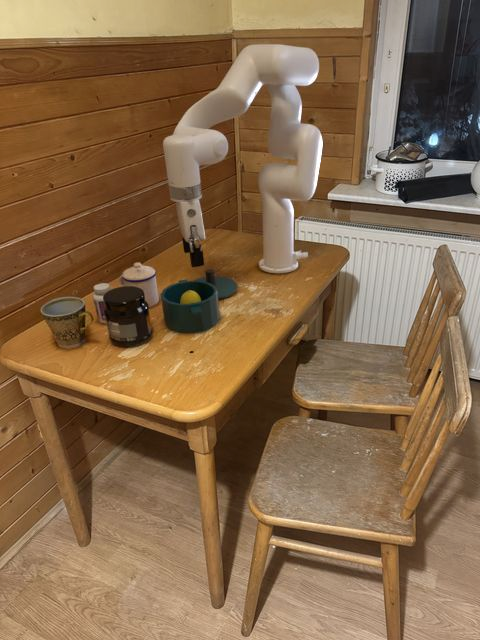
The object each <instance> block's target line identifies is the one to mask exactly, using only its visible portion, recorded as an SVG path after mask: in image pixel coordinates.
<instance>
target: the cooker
mask: <svg viewBox="0 0 480 640" xmlns="http://www.w3.org/2000/svg"><path fill="white" fill-rule="evenodd" d="M188 290H191V291H194V292H196V293H197V294H198V295H199V296H200V298H201V302H196V303H190V304H180V300H181V296H182V295H183V294H184V293H185V292H187V291H188ZM160 301H161V307H162V315H163V321H164V325H165V327H166V328H167V329H168V330H170V331H172V332H175V333H179V334H198V333H201V332H202V333H203V332H205V331H208V330H210V329H212V328H214V327H215V326H216V325H217V324H218V323H219V321H220V305H219V299H218V291H217V289H216V287H215V286H214V285H212V284H210V283H208V282H203V281H193V280H188V279H180V280H178V282H175V283H173V284H170V285H167V287H165V288H163V289H162V291H161V293H160Z"/></svg>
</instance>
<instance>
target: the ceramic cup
mask: <svg viewBox="0 0 480 640" xmlns="http://www.w3.org/2000/svg"><path fill="white" fill-rule="evenodd" d="M40 313H41V315H42V317H43V319H44V322H45V323H46V325H47V327H48V328H49V329H50V331H51V333H52V336H53V337H54V339H55V342H56V343H57V345H58V347H59V348H62V349H67V350H71V349H75V348H80V347H81V346H82V345H84V344H85V343H86V342H87V332H86V331H87V328H88V327H89V326H90V325H92V324H93V322H94V320H95V319H94V316H93V314H92V313H91V312H90V311H86V302H85V300H84V299H83V298H81V297H78V296H63V297H57V298H55V299H52V300H49V301H47V302H46V303H44V304H43V305H42V306H41V308H40ZM86 316H88V317H89V318H90V322H89V323H87V324H86V318H87V317H86Z"/></svg>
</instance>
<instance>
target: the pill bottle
mask: <svg viewBox="0 0 480 640" xmlns="http://www.w3.org/2000/svg"><path fill="white" fill-rule="evenodd" d="M109 290H111V287H110V284H109V283H105V282H101V283H98V284H95V285H94V286H93V292H94V294H93V295H92V296H93V297H92V300H93V305H94V308H95V313H96V317H97V320H98V322H99V323H101V324H106V325H107V322H106V318H105V315H104V307H105V305H104V300H103V296H104V294H105V293H106V292H108V291H109Z"/></svg>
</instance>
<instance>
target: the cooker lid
mask: <svg viewBox="0 0 480 640" xmlns="http://www.w3.org/2000/svg"><path fill="white" fill-rule="evenodd" d="M204 273H205V276H203V277H202V276H201V277H198V278H195V279H193V280H192V281H203V282H208V283H210V284H212V285H214V286H215V287H216V289H217V291H218V300H221V299H225V298H228V297H230V296H232V295H233V294H235V293H236V292H237V290H238V282H236V281H235V280H234V279H232V278H230V277H226V276H221V275H216V273H215V269H214V268H207V269H205V272H204Z"/></svg>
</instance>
